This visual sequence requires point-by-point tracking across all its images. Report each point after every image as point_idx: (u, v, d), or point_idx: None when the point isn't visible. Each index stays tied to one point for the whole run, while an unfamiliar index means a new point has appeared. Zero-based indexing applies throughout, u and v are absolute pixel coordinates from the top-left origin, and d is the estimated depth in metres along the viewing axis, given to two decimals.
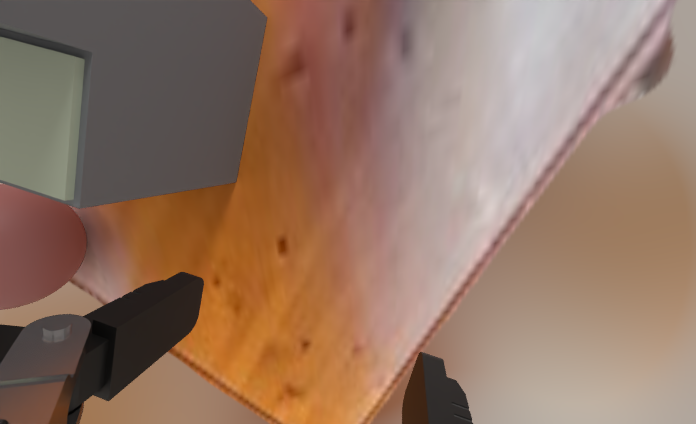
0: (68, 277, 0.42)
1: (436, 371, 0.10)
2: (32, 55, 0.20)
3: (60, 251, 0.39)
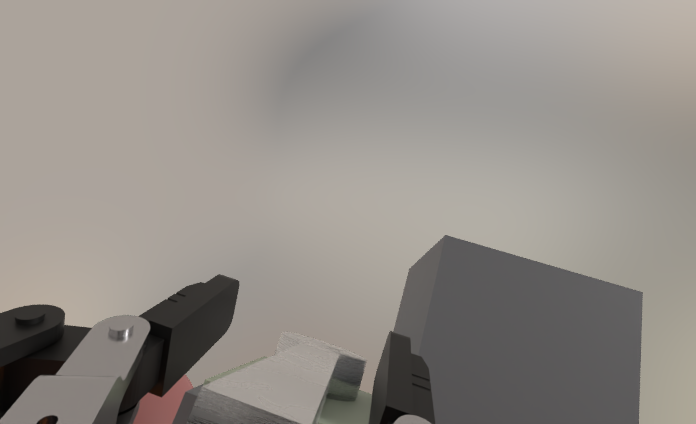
0: None
1: (402, 347, 0.10)
2: (368, 422, 0.18)
3: None
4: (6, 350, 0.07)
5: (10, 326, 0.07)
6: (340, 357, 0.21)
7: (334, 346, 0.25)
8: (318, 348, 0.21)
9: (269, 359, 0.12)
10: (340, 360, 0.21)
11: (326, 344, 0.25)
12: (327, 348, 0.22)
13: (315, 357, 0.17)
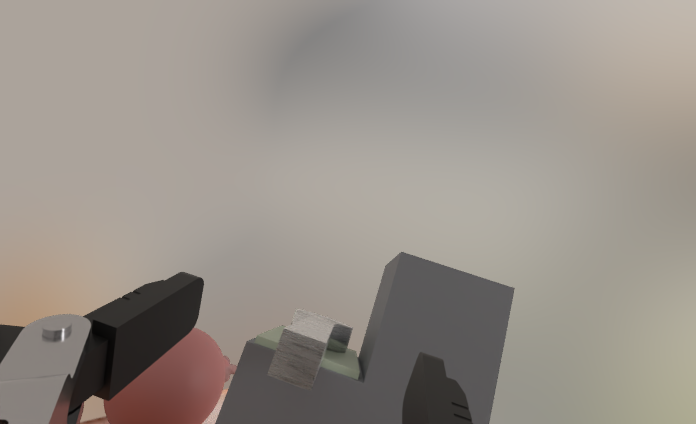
0: (113, 402, 0.41)
1: (436, 371, 0.10)
2: (352, 362, 0.29)
3: (149, 400, 0.40)
4: None
5: None
6: (335, 325, 0.32)
7: (331, 319, 0.37)
8: (321, 319, 0.32)
9: (299, 322, 0.23)
10: (335, 327, 0.32)
11: (325, 317, 0.36)
12: (327, 319, 0.34)
13: (321, 323, 0.28)
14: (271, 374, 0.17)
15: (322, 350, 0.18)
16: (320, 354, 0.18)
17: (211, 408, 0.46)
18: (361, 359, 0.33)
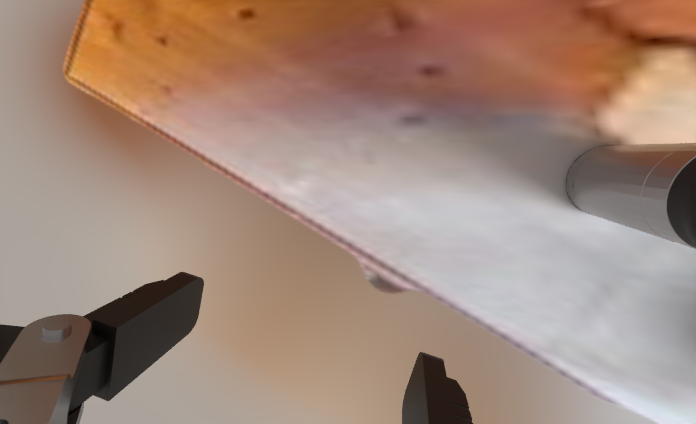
0: None
1: (436, 371, 0.10)
2: None
3: None
4: None
5: None
6: None
7: None
8: None
9: None
10: None
11: None
12: None
13: None
14: None
15: None
16: None
17: None
18: None
